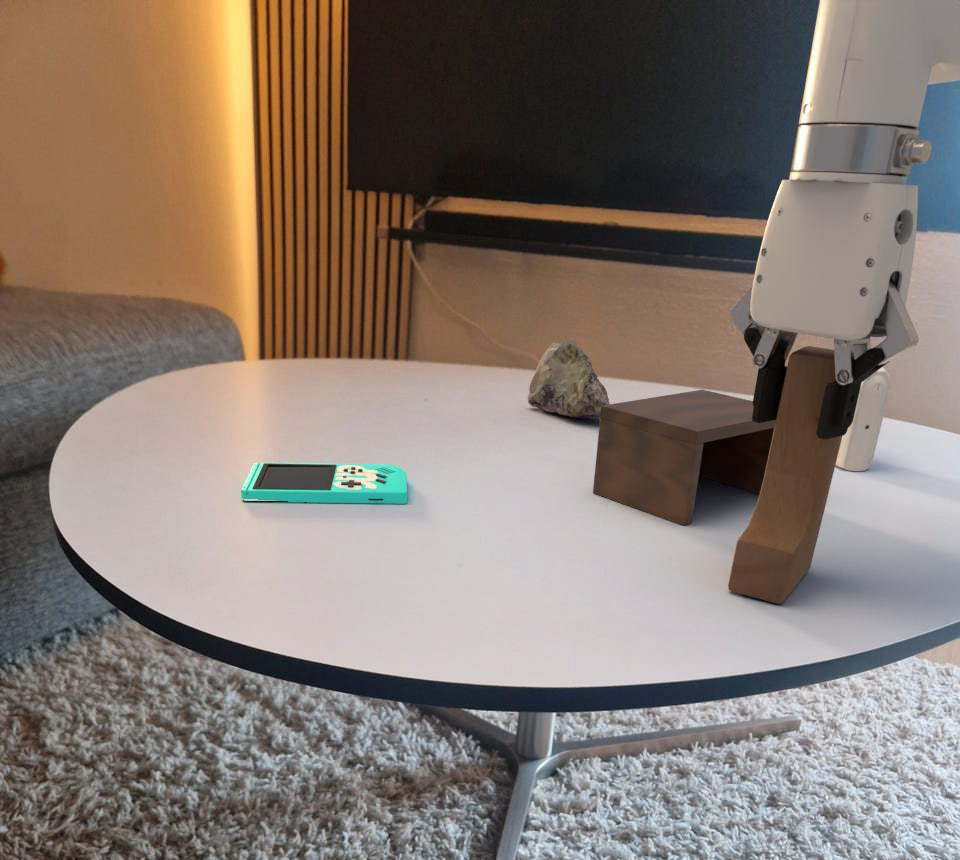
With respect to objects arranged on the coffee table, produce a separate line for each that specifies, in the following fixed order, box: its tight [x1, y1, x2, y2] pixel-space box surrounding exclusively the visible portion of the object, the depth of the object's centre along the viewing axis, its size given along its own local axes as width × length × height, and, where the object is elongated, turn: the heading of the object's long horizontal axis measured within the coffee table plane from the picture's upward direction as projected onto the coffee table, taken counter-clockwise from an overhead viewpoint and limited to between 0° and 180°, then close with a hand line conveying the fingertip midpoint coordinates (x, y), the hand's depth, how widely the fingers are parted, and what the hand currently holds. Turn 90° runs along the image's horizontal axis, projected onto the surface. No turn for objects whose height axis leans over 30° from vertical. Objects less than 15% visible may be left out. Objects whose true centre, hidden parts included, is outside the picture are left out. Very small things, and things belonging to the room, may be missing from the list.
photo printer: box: [835, 366, 892, 472], centre depth 109 cm, size 10×4×12 cm, turn 10°
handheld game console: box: [240, 461, 408, 505], centre depth 94 cm, size 10×16×1 cm, turn 95°
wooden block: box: [727, 345, 842, 605], centre depth 72 cm, size 9×4×18 cm, turn 149°
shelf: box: [592, 389, 776, 526], centre depth 94 cm, size 12×16×9 cm
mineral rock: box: [527, 338, 611, 420], centre depth 124 cm, size 13×11×10 cm
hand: (798, 425), depth 70 cm, fingers closed on wooden block, 4 cm apart
